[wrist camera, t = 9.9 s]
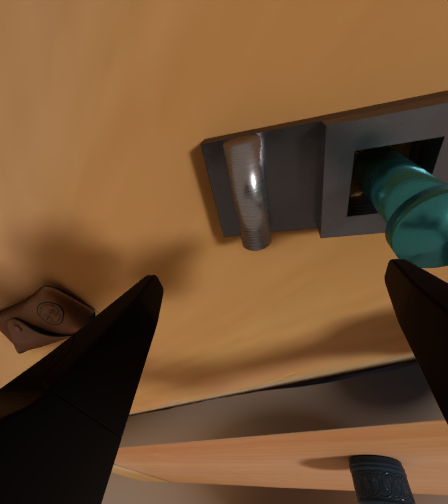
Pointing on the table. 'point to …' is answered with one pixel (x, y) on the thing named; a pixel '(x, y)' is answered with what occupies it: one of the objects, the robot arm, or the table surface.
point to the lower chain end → (277, 175)
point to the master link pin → (406, 204)
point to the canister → (380, 480)
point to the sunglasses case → (44, 319)
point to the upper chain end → (371, 136)
